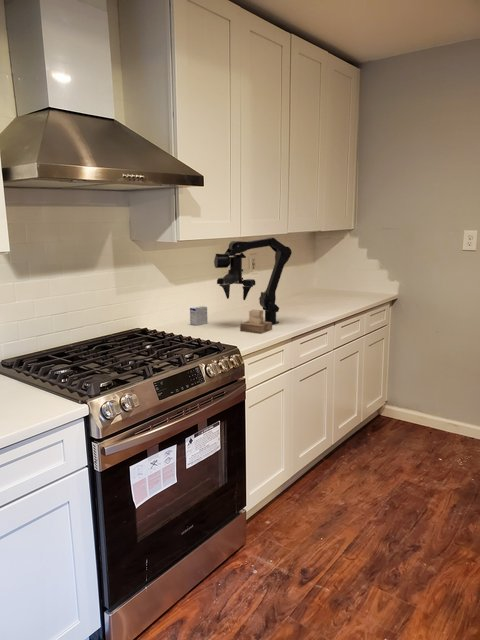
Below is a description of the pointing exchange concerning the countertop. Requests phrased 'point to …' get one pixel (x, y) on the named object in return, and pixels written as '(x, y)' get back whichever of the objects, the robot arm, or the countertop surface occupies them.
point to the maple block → (255, 316)
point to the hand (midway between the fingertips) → (236, 299)
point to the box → (198, 315)
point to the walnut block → (256, 327)
